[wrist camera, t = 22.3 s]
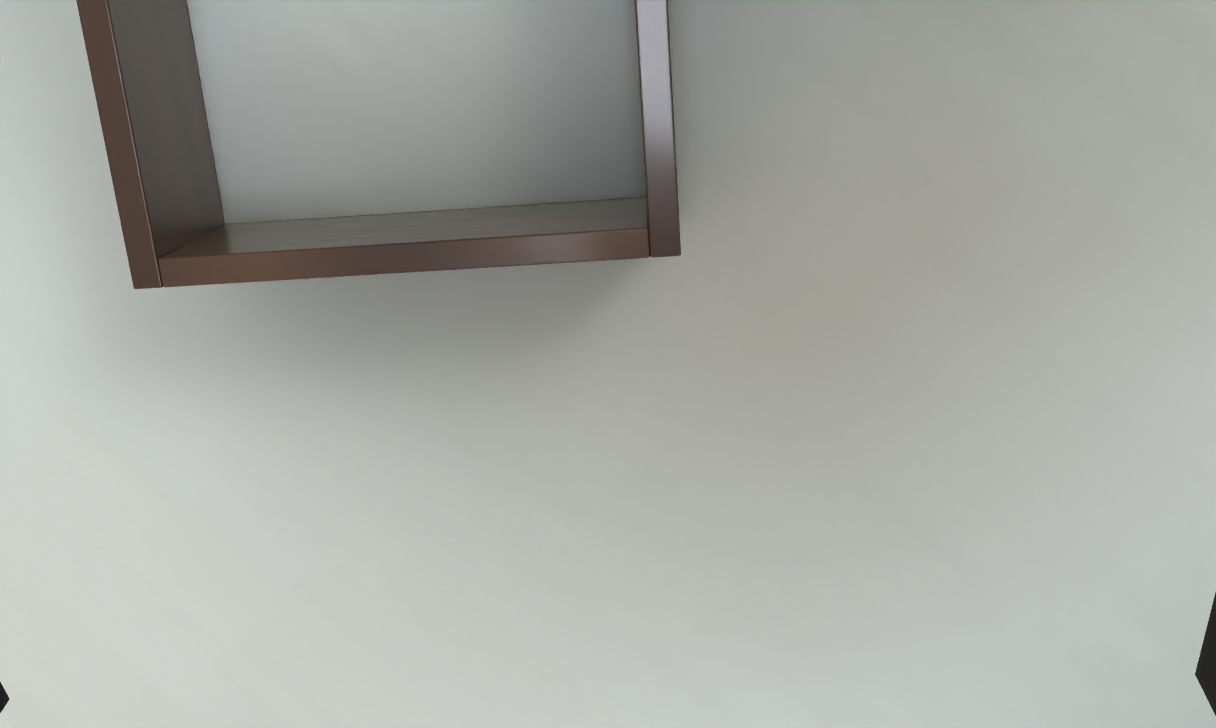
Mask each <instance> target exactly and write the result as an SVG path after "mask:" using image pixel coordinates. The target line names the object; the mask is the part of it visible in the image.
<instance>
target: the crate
mask: <svg viewBox="0 0 1216 728" xmlns="http://www.w3.org/2000/svg"><path fill="white" fill-rule="evenodd" d="M77 5H78V11H79V16H80V21H81V26H82V31H83V36H84V41H85V46H86V51H87V56H88V61H89V66H90V71H91V76H92V81H93V86H94V91H95V96H96V101H97V106H98V111H99V116H100V121H101V126H102V131H103V136H104V141H105V146H106V151H107V156H108V161H109V166H110V171H111V176H112V181H113V186H114V191H115V196H116V201H117V206H118V211H119V216H120V221H121V226H122V231H123V236H124V241H125V246H126V251H127V256H128V261H129V266H130V271H131V276H132V281H133V286H134V289H145V288H161V287H178V286H194V285H210V284H227V283H243V282H260V281H276V280H292V279H309V278H325V277H341V276H358V275H374V274H391V273H407V272H423V271H440V270H456V269H472V268H489V267H505V266H521V265H538V264H554V263H571V262H587V261H603V260H620V259H636V258H649V257H650V256H651V257H652V258H653V257H669V256H680V255H681V246H680V226H679V207H678V188H677V169H676V150H675V131H674V112H673V93H672V74H671V54H670V35H669V16H668V0H635V14H636V30H637V47H638V64H639V80H640V97H641V113H642V130H643V146H644V163H645V179H646V196H647V197H645V198H629V199H613V200H598V201H582V202H567V203H551V204H536V205H520V206H504V207H489V208H473V209H458V210H442V211H427V212H411V213H395V214H380V215H364V216H349V217H333V218H317V219H302V220H286V221H271V222H255V223H240V224H226V225H225V224H224V218H223V212H222V207H221V201H220V195H219V189H218V183H217V178H216V172H215V166H214V160H213V154H212V149H211V143H210V137H209V131H208V125H207V120H206V114H205V108H204V102H203V96H202V91H201V85H200V79H199V73H198V67H197V62H196V56H195V50H194V44H193V38H192V32H191V27H190V21H189V15H188V9H187V3H186V0H77Z"/></svg>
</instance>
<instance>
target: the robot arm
mask: <svg viewBox="0 0 1216 728" xmlns="http://www.w3.org/2000/svg"><path fill="white" fill-rule="evenodd" d="M1195 675H1196V677H1197V679H1198V681H1199V683H1200V685H1201V687H1202V689H1203V691H1204V693H1205V695H1206V697H1207V699H1208V701H1209V703H1210V705H1211V707H1212V709H1213V711H1214V713H1215V715H1216V593H1215V597H1214V601H1213V605H1212V609H1211V613H1210V617H1209V621H1208V625H1207V629H1206V633H1205V637H1204V641H1203V645H1202V649H1201V653H1200V657H1199V661H1198V665H1197V669H1196V673H1195ZM8 701H9V697H8V695H7V693H6V692H5V690H4V688H3V686H2V684H1V682H0V713H1V711H2V710H3V708H4V707H5V705H6V704H7V702H8Z"/></svg>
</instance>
